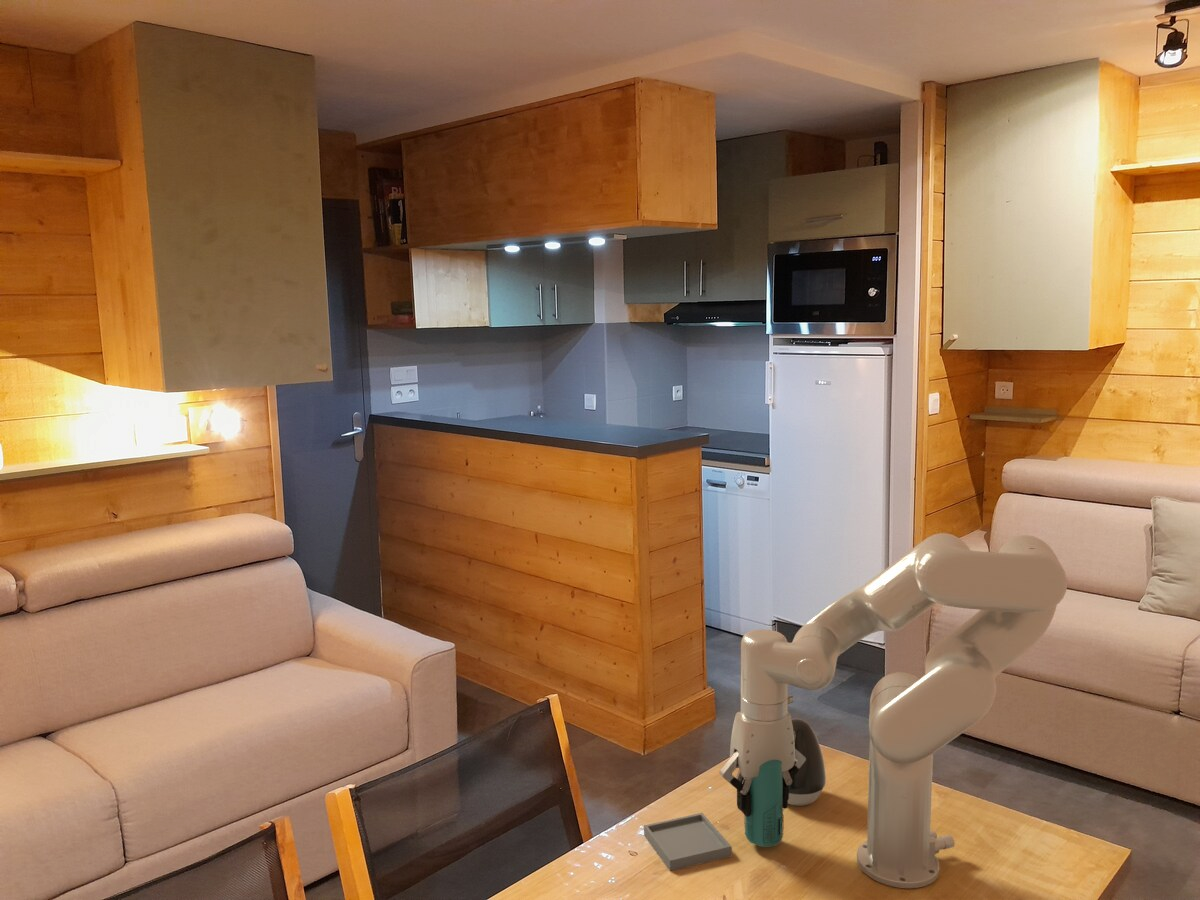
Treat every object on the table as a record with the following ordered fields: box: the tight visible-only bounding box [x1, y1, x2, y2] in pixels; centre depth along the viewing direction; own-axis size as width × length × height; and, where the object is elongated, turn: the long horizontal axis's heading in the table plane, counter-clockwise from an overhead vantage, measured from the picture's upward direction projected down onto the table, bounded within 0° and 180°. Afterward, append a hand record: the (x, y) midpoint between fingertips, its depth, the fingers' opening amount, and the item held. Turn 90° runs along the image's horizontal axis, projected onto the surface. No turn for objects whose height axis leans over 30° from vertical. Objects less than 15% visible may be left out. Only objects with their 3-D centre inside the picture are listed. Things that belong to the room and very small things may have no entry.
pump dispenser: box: [788, 718, 827, 807], centre depth 169 cm, size 10×10×15 cm
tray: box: [643, 812, 732, 872], centre depth 155 cm, size 11×11×2 cm
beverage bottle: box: [743, 760, 785, 848], centre depth 154 cm, size 6×7×20 cm
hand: (762, 807), depth 154 cm, fingers closed on beverage bottle, 6 cm apart
